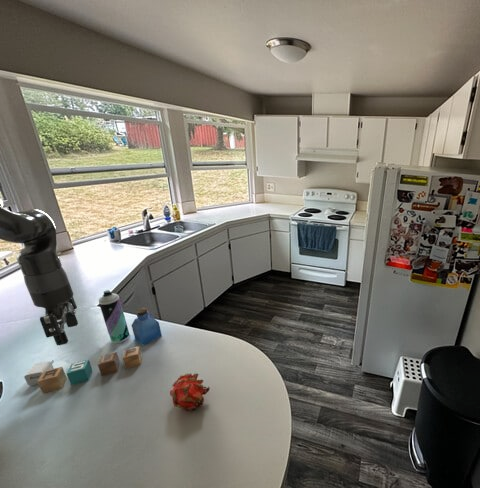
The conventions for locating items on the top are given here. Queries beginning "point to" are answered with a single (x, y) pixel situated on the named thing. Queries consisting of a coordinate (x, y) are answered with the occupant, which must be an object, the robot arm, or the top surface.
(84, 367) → the block
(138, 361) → the block
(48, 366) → the usb wall charger
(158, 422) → the top surface
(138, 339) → the perfume bottle
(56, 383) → the block
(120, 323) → the spray can
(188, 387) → the dragon fruit
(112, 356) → the block
